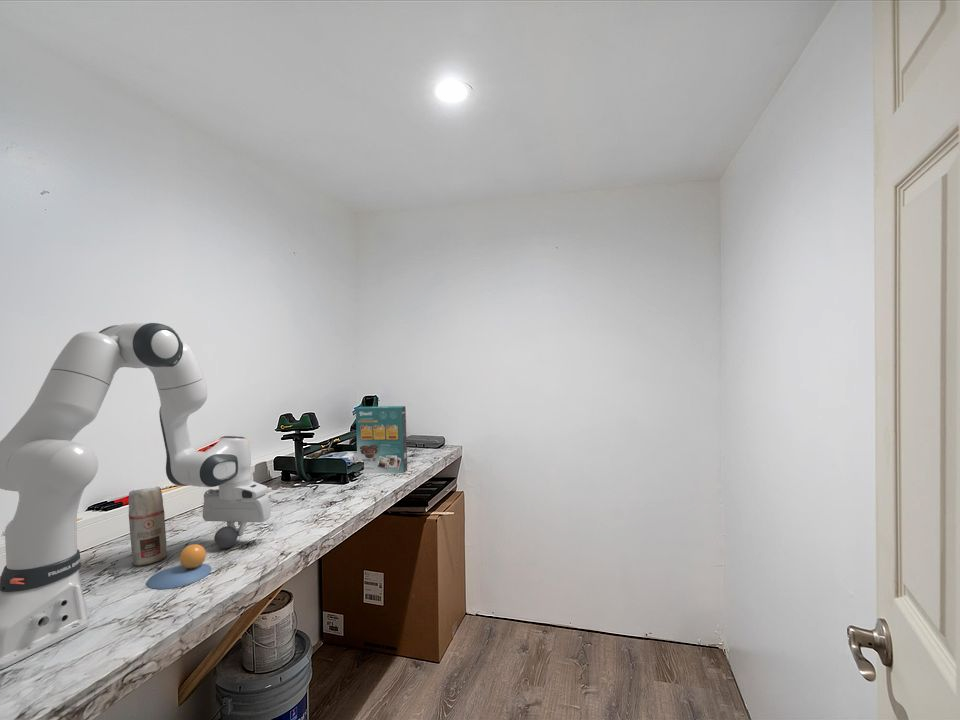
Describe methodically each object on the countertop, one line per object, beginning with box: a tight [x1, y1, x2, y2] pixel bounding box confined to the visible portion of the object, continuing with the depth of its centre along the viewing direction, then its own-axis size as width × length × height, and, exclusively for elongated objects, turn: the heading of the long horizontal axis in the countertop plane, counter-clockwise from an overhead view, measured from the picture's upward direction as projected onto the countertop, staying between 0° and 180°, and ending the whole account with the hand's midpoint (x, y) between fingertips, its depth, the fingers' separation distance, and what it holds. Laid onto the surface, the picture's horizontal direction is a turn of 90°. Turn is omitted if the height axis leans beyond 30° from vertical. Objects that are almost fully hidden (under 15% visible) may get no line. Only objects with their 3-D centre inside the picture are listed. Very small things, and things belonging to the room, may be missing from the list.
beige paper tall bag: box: [128, 486, 168, 566], centre depth 135 cm, size 8×8×20 cm
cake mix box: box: [355, 405, 408, 474], centre depth 229 cm, size 22×6×30 cm, turn 82°
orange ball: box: [179, 543, 207, 569], centre depth 129 cm, size 6×6×6 cm
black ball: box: [213, 525, 239, 549], centre depth 143 cm, size 6×6×6 cm
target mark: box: [146, 562, 212, 590], centre depth 125 cm, size 14×14×1 cm
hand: (237, 535), depth 148 cm, fingers closed
